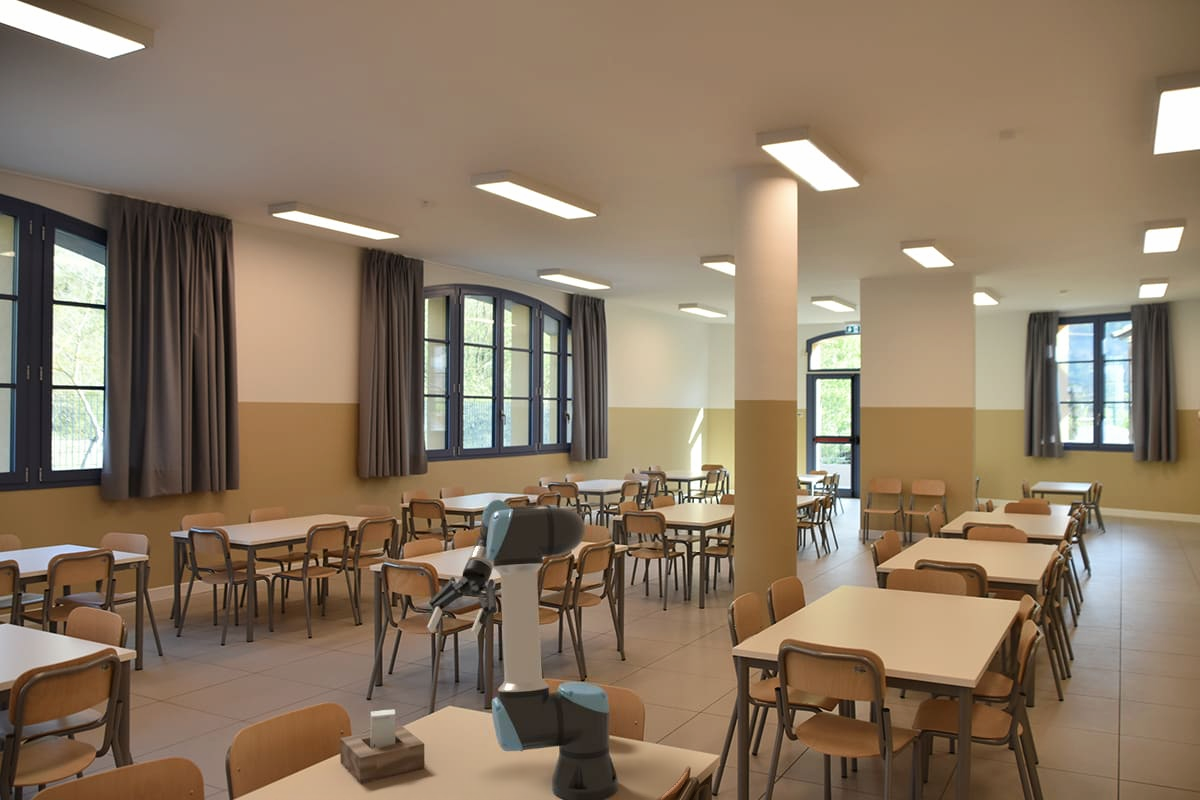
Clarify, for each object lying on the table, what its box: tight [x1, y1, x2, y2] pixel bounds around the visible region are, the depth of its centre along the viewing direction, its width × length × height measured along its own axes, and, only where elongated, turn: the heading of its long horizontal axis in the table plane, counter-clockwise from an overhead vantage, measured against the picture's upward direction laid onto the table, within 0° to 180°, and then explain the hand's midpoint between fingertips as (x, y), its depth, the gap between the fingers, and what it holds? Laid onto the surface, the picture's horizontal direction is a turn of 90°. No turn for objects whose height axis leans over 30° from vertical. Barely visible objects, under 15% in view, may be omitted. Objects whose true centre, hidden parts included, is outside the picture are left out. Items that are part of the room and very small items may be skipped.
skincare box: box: [370, 708, 397, 749], centre depth 212 cm, size 6×4×12 cm
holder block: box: [339, 725, 425, 784], centre depth 212 cm, size 16×16×6 cm
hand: (451, 631), depth 226 cm, fingers open, 13 cm apart
